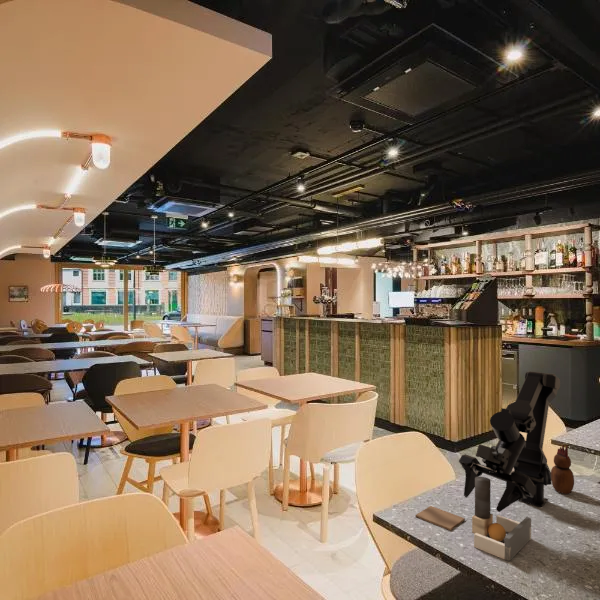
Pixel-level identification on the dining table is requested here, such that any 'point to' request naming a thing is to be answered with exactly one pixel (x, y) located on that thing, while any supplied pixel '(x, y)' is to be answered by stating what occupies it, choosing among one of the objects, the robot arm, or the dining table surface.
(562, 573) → the dining table surface
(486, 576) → the dining table surface
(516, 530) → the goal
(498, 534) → the ball
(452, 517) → the brown rectangular plate
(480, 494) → the ball
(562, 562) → the dining table surface
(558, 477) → the wooden figurine
